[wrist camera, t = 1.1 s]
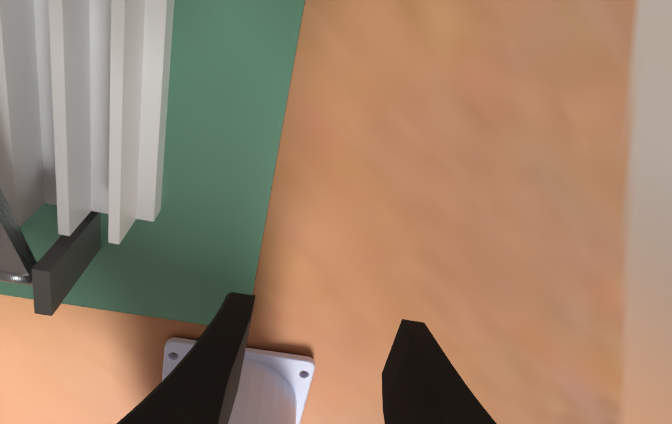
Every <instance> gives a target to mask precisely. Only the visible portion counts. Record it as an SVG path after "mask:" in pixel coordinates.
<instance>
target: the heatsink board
mask: <svg viewBox="0 0 672 424" xmlns="http://www.w3.org/2000/svg"><path fill="white" fill-rule="evenodd" d="M304 4H305V0H0V188H1V190H2V192H3V195H4V197H5V199H6V201H7V203H8V205H9V207H10V209H11V211H12V213H13V215H14V217H15V219H16V221H17V223H18V225H19V227H20V229H21V231H22V233H23V235H24V237H25V239H26V241H27V244H28V246H29V248H30V250H31V252H32V254H33V256H34V258H35V260H36V261H37V263H36V264H35V266H34V267H33V268H32V283H33V286H31V285H24V284H18V283H11V282H5V281H0V294H2V295H9V296H15V297H22V298H29V299H34V310H35V313H36V314H43V315H49V316H52V315H53V314H54V312H55V311H56V310H57V308H58V307H59V305H60V304H61V303H62V304H69V305H76V306H82V307H89V308H96V309H102V310H109V311H116V312H123V313H129V314H136V315H143V316H149V317H156V318H163V319H170V320H176V321H183V322H190V323H196V324H203V325H209V324H210V323H211V321H212V320H213V318H214V317H215V315H216V314H217V312H218V310H219V309H220V307H221V305H222V303H223V301H224V299H225V297H226V295H227V294H229V293H230V292H236V293H242V294H248V295H253V289H254V283H255V278H256V272H257V267H258V261H259V255H260V250H261V244H262V239H263V233H264V227H265V222H266V216H267V211H268V205H269V199H270V194H271V188H272V183H273V177H274V172H275V166H276V160H277V155H278V149H279V144H280V138H281V132H282V127H283V121H284V116H285V110H286V104H287V99H288V93H289V88H290V82H291V76H292V71H293V65H294V60H295V54H296V48H297V43H298V37H299V32H300V26H301V21H302V15H303V9H304Z"/></svg>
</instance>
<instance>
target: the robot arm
mask: <svg viewBox="0 0 672 424" xmlns="http://www.w3.org/2000/svg"><path fill="white" fill-rule="evenodd" d="M254 300H255V296H254V295H248V294H242V293H236V292H230V293H229V294H227V295H226V297H225V299H224V301H223V303H222V305H221V307H220V309H219V310H218V312H217V314H216V315H215V317H214V318H213V320H212V321H211V323H210V324H209V326H208V327H207V328H206V330H205V331H204V332H203V334H202V335H201V336H200V338H199V339H198V340H191V339H184V338H177V337H172V338H169V339H168V340H167V342H166V344H165V347H164V359H163V371H162V382H161V383H160V384H159V385H158V386H157V387H156V388H155V389H154V390H153V391H152V392H151V393H150V394H149V395H148V396H147V397H146V398H145V399H144V400H143V401H142V402H141V403H139V404H138V405H137V406H136V407H135V408H134V409H133V410H132V411H130V412H129V413H128V414H127V415H126V416H125V417H124V418H123V419H121V420H120V421H119V422H118V423H117V424H300V421H301V417H302V413H303V410H304V406H305V402H306V399H307V395H308V391H309V388H310V384H311V380H312V377H313V373H314V370H315V361H314V359H312V358H311V357H308V356H301V355H294V354H287V353H281V352H274V351H267V350H260V349H253V348H246V344H247V338H248V333H249V327H250V322H251V316H252V311H253V305H254ZM173 352H174V353H176V354H172V353H173ZM301 371H306V372H304V373H303V372H301ZM382 397H383V413H384V420H385V424H496V422H495V421H494V420H493V419H492V418H491V416H490V415H489V414H488V413H487V411H486V410H485V409H484V408H483V406H482V405H481V404H480V403H479V401H478V400H477V399H476V397H475V396H474V395H473V393H472V392H471V391H470V389H469V388H468V387H467V385H466V384H465V383H464V381H463V380H462V378H461V377H460V375H459V374H458V373H457V371H456V370H455V368H454V367H453V365H452V364H451V362H450V361H449V359H448V358H447V356H446V355H445V353H444V352H443V350H442V349H441V347H440V346H439V344H438V343H437V341H436V340H435V338H434V337H433V335H432V334H431V332H430V331H429V329H428V328H427V326H426V325H425V323H423V322H416V321H410V320H404V319H402V321H401V324H400V326H399V329H398V332H397V334H396V337H395V340H394V343H393V345H392V348H391V351H390V353H389V356H388V359H387V361H386V364H385V367H384V369H383V372H382Z"/></svg>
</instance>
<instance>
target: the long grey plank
mask: <svg viewBox="0 0 672 424" xmlns="http://www.w3.org/2000/svg"><path fill="white" fill-rule="evenodd" d="M36 263H37V261H36V260H35V258H34V256H33V254H32V252H31V250H30V248H29V246H28V244H27V241H26V239H25V237H24V235H23V233H22V231H21V229H20V227H19V225H18V223H17V221H16V219H15V217H14V215H13V213H12V211H11V209H10V207H9V205H8V203H7V201H6V199H5V197H4V195H3V192H2V190H1V188H0V281H5V282H11V283H18V284H24V285H31V286H33V283H32V268H33V267H34V266H35V264H36Z"/></svg>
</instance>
